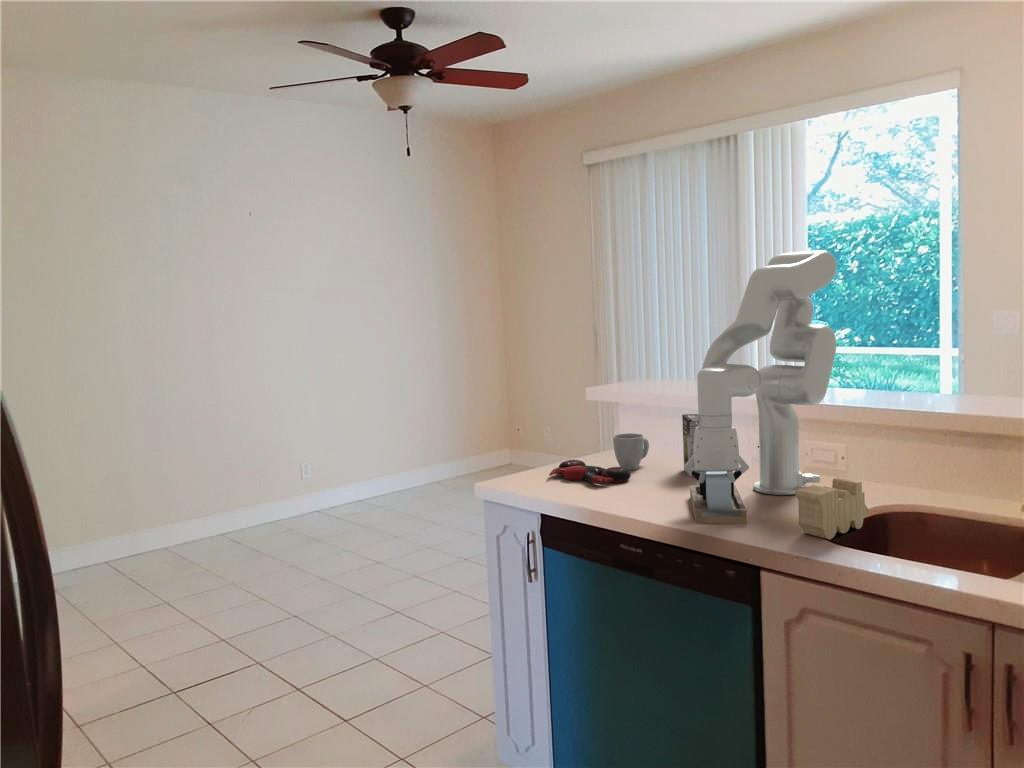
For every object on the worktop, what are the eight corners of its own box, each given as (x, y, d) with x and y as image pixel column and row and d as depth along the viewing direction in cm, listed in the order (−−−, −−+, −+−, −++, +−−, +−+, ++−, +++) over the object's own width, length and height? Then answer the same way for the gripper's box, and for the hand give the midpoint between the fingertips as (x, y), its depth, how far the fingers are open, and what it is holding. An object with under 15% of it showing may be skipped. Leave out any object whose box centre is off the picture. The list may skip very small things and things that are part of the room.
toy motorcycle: (572, 472, 235) (533, 474, 225) (574, 455, 235) (534, 456, 225) (636, 487, 216) (595, 490, 206) (637, 469, 216) (597, 470, 206)
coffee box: (683, 469, 226) (681, 414, 224) (705, 468, 225) (704, 413, 224) (689, 476, 217) (687, 419, 215) (712, 475, 216) (711, 418, 215)
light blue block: (731, 508, 175) (731, 482, 174) (708, 509, 175) (707, 482, 175) (724, 490, 190) (723, 466, 190) (703, 491, 191) (702, 467, 190)
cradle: (690, 497, 195) (690, 485, 195) (735, 497, 193) (735, 485, 193) (696, 523, 173) (695, 510, 173) (747, 523, 171) (746, 510, 171)
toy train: (868, 526, 165) (868, 479, 164) (819, 543, 156) (818, 494, 155) (845, 520, 170) (844, 475, 169) (795, 537, 161) (794, 489, 160)
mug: (627, 472, 225) (626, 439, 224) (608, 468, 232) (607, 436, 231) (658, 466, 232) (657, 434, 230) (638, 461, 239) (637, 430, 238)
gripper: (678, 425, 179) (680, 503, 181) (755, 423, 176) (756, 502, 178) (676, 419, 186) (678, 494, 188) (751, 418, 183) (752, 494, 185)
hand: (716, 497), depth 183 cm, fingers closed on light blue block, 5 cm apart
